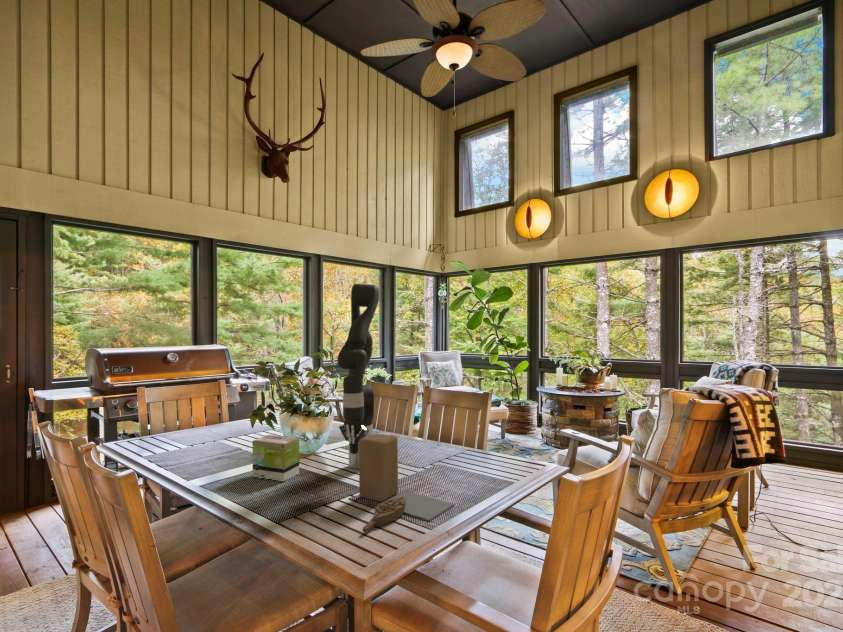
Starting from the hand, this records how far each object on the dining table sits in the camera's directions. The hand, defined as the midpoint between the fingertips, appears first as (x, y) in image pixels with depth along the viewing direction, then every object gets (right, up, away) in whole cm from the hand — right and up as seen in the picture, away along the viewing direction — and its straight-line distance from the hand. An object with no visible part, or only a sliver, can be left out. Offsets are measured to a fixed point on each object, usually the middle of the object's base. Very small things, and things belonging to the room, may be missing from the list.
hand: (354, 453), depth 162 cm
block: (+10, -13, -7) cm, 17 cm away
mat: (+23, -12, -16) cm, 30 cm away
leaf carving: (+13, -12, -26) cm, 32 cm away
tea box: (-32, -13, +13) cm, 37 cm away
